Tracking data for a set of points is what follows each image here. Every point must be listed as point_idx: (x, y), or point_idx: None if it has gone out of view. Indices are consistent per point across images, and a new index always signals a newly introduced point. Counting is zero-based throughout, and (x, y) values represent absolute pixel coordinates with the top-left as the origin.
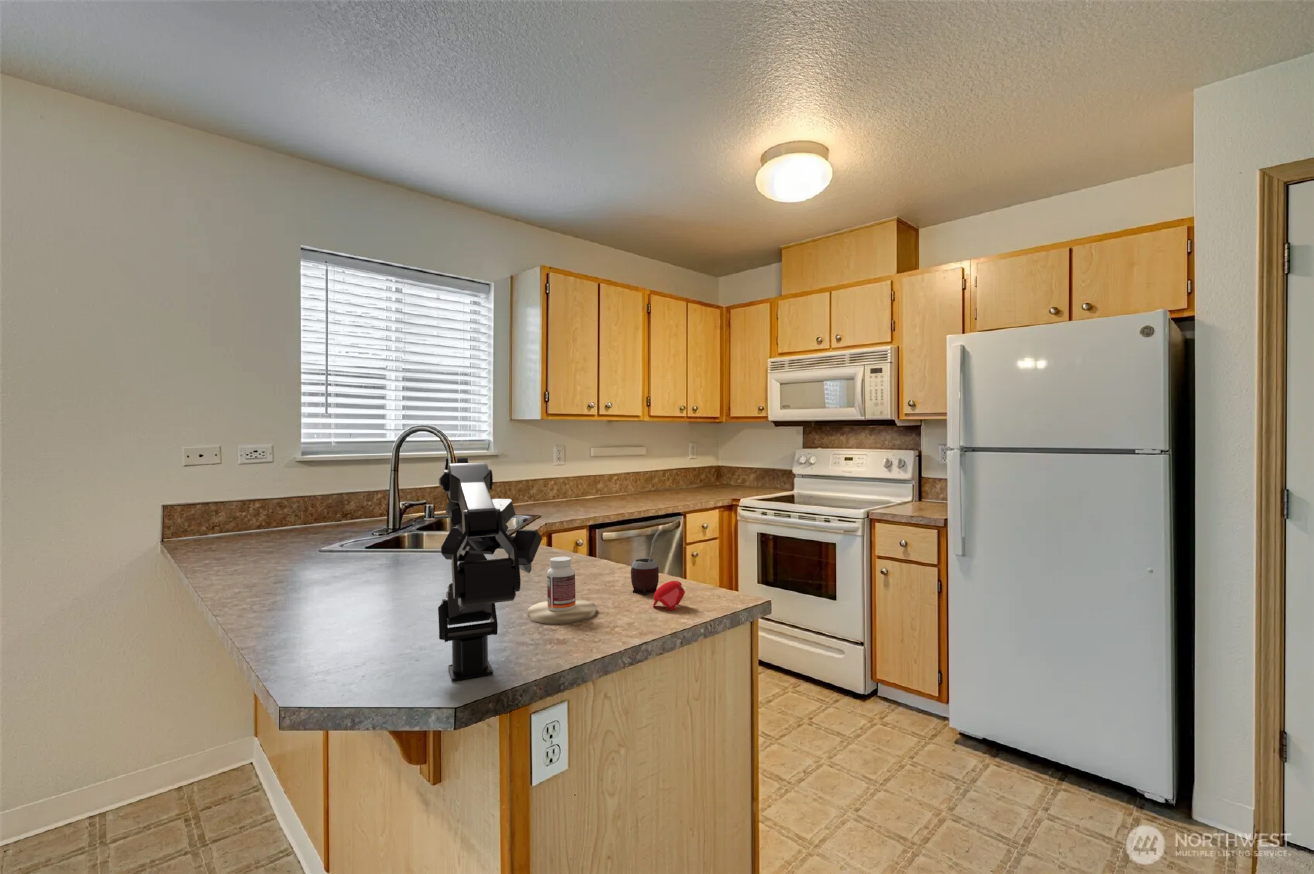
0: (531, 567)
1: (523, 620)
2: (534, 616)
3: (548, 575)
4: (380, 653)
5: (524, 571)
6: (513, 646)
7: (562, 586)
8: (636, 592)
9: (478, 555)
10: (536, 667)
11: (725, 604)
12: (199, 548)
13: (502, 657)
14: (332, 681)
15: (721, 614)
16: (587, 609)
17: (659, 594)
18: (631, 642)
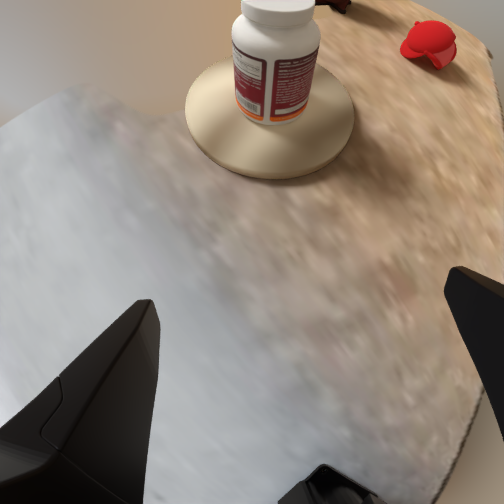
0: (468, 270)
1: (208, 177)
2: (242, 168)
3: (254, 53)
4: None
5: (460, 332)
6: (317, 358)
7: (303, 76)
8: (320, 4)
9: (107, 450)
10: (433, 427)
11: (465, 48)
12: None
13: (338, 426)
14: None
15: (492, 84)
16: (334, 96)
17: (432, 48)
18: (498, 230)
